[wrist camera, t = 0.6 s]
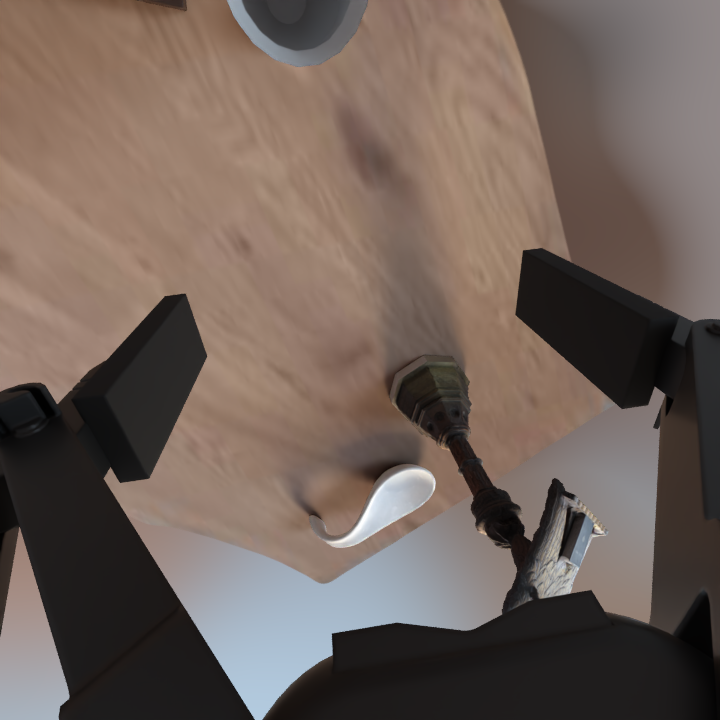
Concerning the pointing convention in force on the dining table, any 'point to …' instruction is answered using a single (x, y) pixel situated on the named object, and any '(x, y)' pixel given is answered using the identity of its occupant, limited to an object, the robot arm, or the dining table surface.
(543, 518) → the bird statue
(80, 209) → the dining table surface
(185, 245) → the dining table surface
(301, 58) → the chalice
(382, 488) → the spoon rest
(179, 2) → the serving board
